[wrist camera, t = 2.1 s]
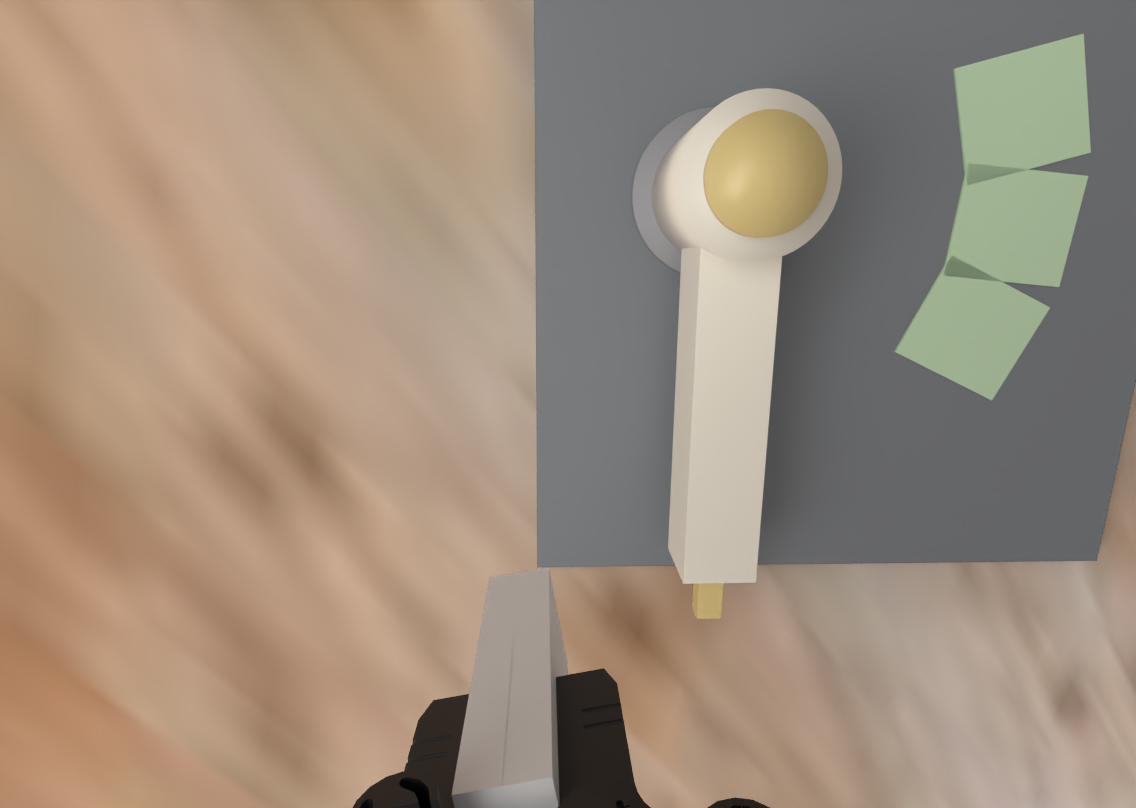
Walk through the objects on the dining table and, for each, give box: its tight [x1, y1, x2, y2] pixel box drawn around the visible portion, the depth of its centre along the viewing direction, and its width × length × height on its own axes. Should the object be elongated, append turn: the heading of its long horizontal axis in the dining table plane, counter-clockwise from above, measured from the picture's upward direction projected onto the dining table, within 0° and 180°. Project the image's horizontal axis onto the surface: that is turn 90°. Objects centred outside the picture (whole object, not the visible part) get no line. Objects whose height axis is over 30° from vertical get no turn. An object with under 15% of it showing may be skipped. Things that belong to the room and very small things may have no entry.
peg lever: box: [652, 88, 842, 619], centre depth 23 cm, size 19×5×6 cm, turn 0°
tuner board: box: [534, 0, 1136, 567], centre depth 26 cm, size 24×26×2 cm
